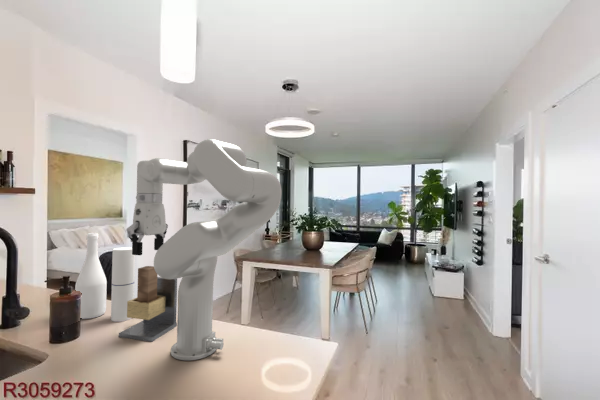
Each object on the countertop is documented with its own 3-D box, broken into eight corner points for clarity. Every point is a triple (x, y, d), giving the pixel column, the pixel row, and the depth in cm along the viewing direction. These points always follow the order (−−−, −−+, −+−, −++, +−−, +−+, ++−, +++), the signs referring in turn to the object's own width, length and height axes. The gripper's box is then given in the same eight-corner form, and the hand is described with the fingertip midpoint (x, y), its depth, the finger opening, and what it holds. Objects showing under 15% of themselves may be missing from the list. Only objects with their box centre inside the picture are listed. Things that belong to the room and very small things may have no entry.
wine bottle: (112, 312, 114) (114, 232, 114) (87, 321, 105) (89, 235, 105) (93, 309, 117) (95, 231, 117) (68, 317, 108) (70, 234, 108)
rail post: (156, 309, 99) (157, 266, 99) (147, 313, 95) (148, 269, 95) (146, 308, 100) (147, 265, 100) (136, 312, 96) (138, 268, 96)
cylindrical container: (115, 323, 104) (117, 250, 104) (107, 318, 108) (109, 248, 108) (137, 317, 110) (139, 248, 110) (128, 312, 114) (130, 246, 114)
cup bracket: (176, 326, 103) (177, 278, 103) (152, 341, 91) (153, 288, 91) (146, 322, 106) (147, 275, 106) (118, 336, 94) (120, 284, 94)
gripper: (139, 199, 88) (138, 257, 88) (176, 199, 105) (175, 249, 105) (118, 198, 90) (116, 256, 90) (157, 199, 107) (156, 248, 106)
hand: (148, 252), depth 97 cm, fingers open, 9 cm apart
